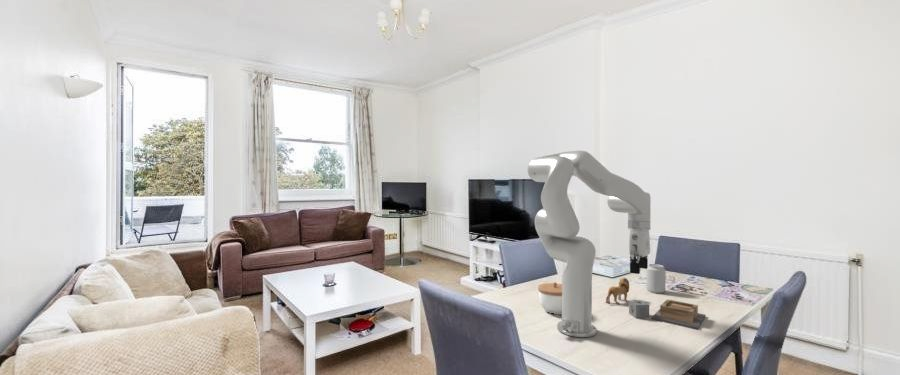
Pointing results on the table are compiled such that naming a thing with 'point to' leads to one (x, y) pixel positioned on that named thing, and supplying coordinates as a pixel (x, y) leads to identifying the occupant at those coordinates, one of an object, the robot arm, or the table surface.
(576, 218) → the robot arm
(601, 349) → the table surface
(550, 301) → the lidded bowl
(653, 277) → the can
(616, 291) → the lion figurine
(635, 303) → the grey cube
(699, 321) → the base
